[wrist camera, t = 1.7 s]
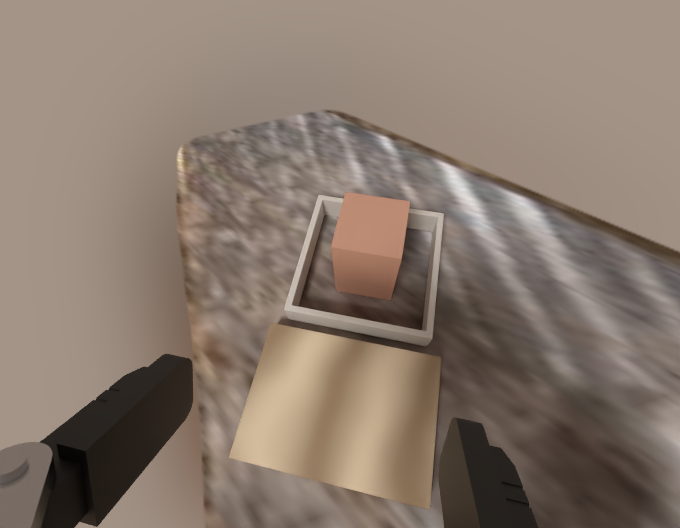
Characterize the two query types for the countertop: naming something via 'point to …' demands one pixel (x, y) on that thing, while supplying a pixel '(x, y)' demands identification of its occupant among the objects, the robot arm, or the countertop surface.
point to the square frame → (357, 325)
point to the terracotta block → (369, 244)
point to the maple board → (343, 414)
